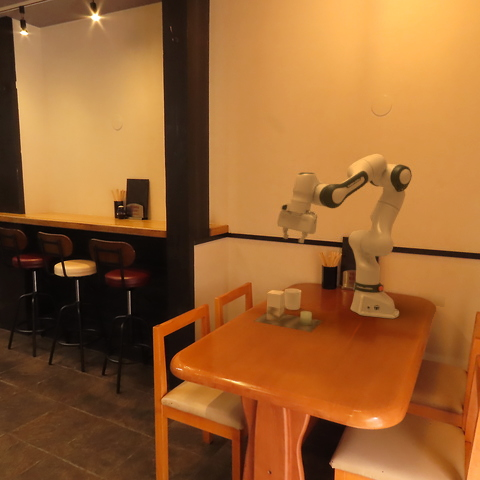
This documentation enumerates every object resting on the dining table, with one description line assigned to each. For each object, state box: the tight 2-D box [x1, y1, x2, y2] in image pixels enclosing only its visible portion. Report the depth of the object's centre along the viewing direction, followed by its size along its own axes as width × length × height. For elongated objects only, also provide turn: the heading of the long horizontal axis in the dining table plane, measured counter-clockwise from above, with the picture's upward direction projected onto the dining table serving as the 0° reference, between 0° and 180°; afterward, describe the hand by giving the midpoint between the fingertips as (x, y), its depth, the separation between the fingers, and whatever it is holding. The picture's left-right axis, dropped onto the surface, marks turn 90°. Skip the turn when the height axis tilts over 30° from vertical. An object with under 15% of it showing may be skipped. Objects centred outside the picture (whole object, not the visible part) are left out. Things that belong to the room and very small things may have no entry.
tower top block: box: [266, 289, 285, 308], centre depth 183 cm, size 6×6×6 cm
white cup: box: [284, 288, 302, 311], centre depth 200 cm, size 8×8×10 cm
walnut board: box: [253, 311, 323, 333], centre depth 182 cm, size 26×16×2 cm, turn 63°
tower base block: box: [266, 305, 286, 322], centre depth 184 cm, size 6×6×6 cm
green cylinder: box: [299, 310, 313, 326], centre depth 178 cm, size 5×5×5 cm
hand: (292, 240), depth 181 cm, fingers open, 8 cm apart
